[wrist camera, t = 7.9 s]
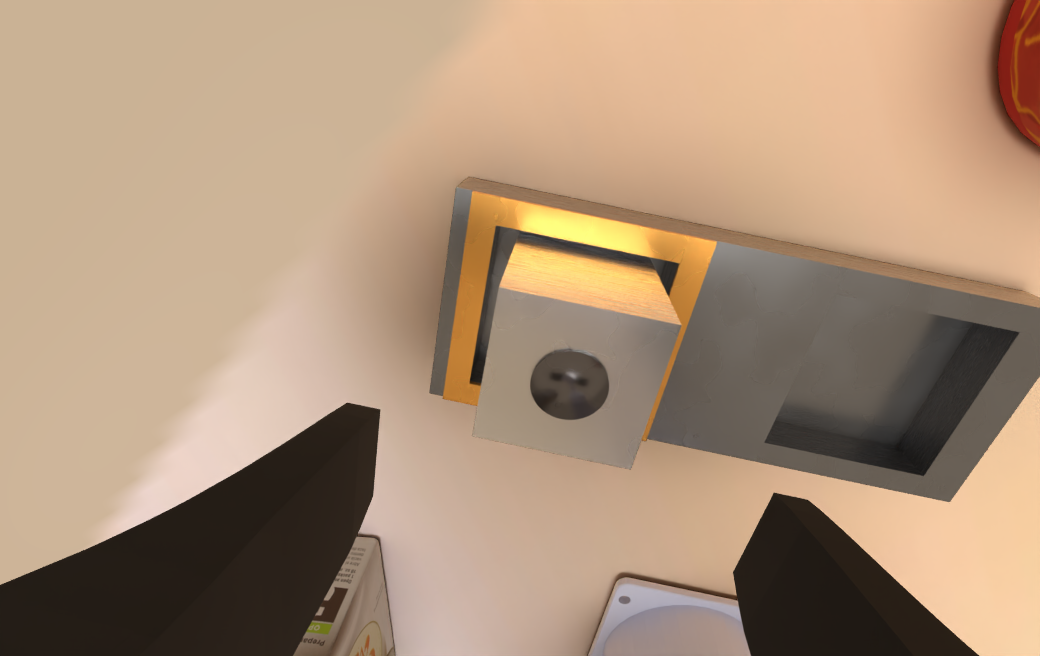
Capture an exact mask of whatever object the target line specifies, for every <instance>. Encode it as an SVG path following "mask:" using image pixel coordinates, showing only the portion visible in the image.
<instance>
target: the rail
mask: <svg viewBox="0 0 1040 656" xmlns="http://www.w3.org/2000/svg"><path fill="white" fill-rule="evenodd" d="M520 230H521V231H526V232H531V233H536V234H541V235H545V236H550V237H555V238H560V239H565V240H569V241H574V242H579V243H584V244H589V245H594V246H598V247H603V248H608V249H613V250H618V251H623V252H627V253H632V254H637V255H642V256H647V257H650V259H651V261H652V263H653V265H654V267H655V269H656V271H657V274H658V276H659V278H660V280H661V282H662V284H663V286H664V289H665V291H666V293H667V295H668V297H669V299H670V301H671V303H672V306H673V308H674V310H675V312H676V314H677V316H678V318H679V321H680V323H681V325H682V326H681V329H680V332H679V334H678V337H677V340H676V343H675V346H674V349H673V351H672V354H671V357H670V360H669V363H668V366H667V368H666V371H665V374H664V377H663V380H662V383H661V385H660V388H659V391H658V394H657V397H656V400H655V402H654V405H653V408H652V411H651V414H650V417H649V419H648V422H647V425H646V428H645V431H644V434H643V436H642V439H641V440H642V441H646V440H647V439H650V440H655V441H660V442H665V443H670V444H674V445H679V446H684V447H689V448H693V449H698V450H703V451H708V452H712V453H717V454H722V455H727V456H732V457H736V458H741V459H746V460H751V461H755V462H760V463H765V464H770V465H775V466H779V467H784V468H789V469H794V470H798V471H803V472H808V473H813V474H818V475H822V476H827V477H832V478H837V479H841V480H846V481H851V482H856V483H860V484H865V485H870V486H875V487H880V488H884V489H889V490H894V491H899V492H903V493H908V494H913V495H918V496H923V497H927V498H932V499H937V500H942V501H946V502H950V501H951V500H952V498H953V497H954V495H955V494H956V493H957V491H958V490H959V488H960V487H961V486H962V484H963V483H964V481H965V480H966V479H967V477H968V476H969V474H970V473H971V472H972V470H973V469H974V467H975V466H976V465H977V463H978V462H979V460H980V459H981V458H982V456H983V455H984V453H985V452H986V451H987V449H988V448H989V446H990V445H991V444H992V442H993V441H994V439H995V438H996V437H997V435H998V434H999V432H1000V431H1001V430H1002V428H1003V427H1004V425H1005V424H1006V423H1007V421H1008V420H1009V418H1010V417H1011V416H1012V414H1013V413H1014V411H1015V410H1016V409H1017V407H1018V406H1019V404H1020V403H1021V402H1022V400H1023V399H1024V397H1025V396H1026V395H1027V393H1028V392H1029V390H1030V389H1031V388H1032V386H1033V385H1034V384H1035V382H1036V381H1037V379H1038V378H1039V377H1040V298H1039V297H1037V296H1034V295H1032V294H1030V293H1028V292H1025V291H1020V290H1015V289H1010V288H1005V287H1001V286H996V285H991V284H986V283H981V282H976V281H971V280H967V279H962V278H957V277H952V276H947V275H942V274H938V273H933V272H928V271H923V270H918V269H913V268H908V267H904V266H899V265H894V264H889V263H884V262H879V261H875V260H870V259H865V258H860V257H855V256H850V255H845V254H841V253H836V252H831V251H826V250H821V249H816V248H812V247H807V246H802V245H797V244H792V243H787V242H782V241H778V240H773V239H768V238H763V237H758V236H753V235H749V234H744V233H739V232H734V231H729V230H724V229H719V228H715V227H710V226H705V225H700V224H695V223H690V222H686V221H681V220H676V219H671V218H666V217H661V216H656V215H652V214H647V213H642V212H637V211H632V210H627V209H623V208H618V207H613V206H608V205H603V204H598V203H593V202H589V201H584V200H579V199H574V198H569V197H564V196H560V195H555V194H550V193H545V192H540V191H535V190H530V189H526V188H521V187H516V186H511V185H506V184H501V183H497V182H492V181H487V180H482V179H477V178H472V177H468V178H467V179H466V180H464V181H463V182H462V183H461V184H459V185H458V186H457V187H456V192H455V200H454V207H453V215H452V223H451V231H450V238H449V246H448V254H447V261H446V269H445V277H444V285H443V292H442V300H441V308H440V316H439V323H438V331H437V339H436V347H435V354H434V362H433V370H432V378H431V385H430V393H431V394H436V395H440V396H443V399H446V400H451V401H456V402H461V403H465V404H470V405H475V406H478V400H479V395H480V389H481V384H482V378H483V372H484V367H485V361H486V356H487V350H488V344H489V339H490V333H491V328H492V322H493V316H494V311H495V305H496V300H497V294H498V288H499V285H500V283H501V280H502V277H503V275H504V272H505V269H506V267H507V264H508V262H509V259H510V256H511V254H512V251H513V248H514V246H515V243H516V241H517V238H518V235H519V233H520Z"/></svg>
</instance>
